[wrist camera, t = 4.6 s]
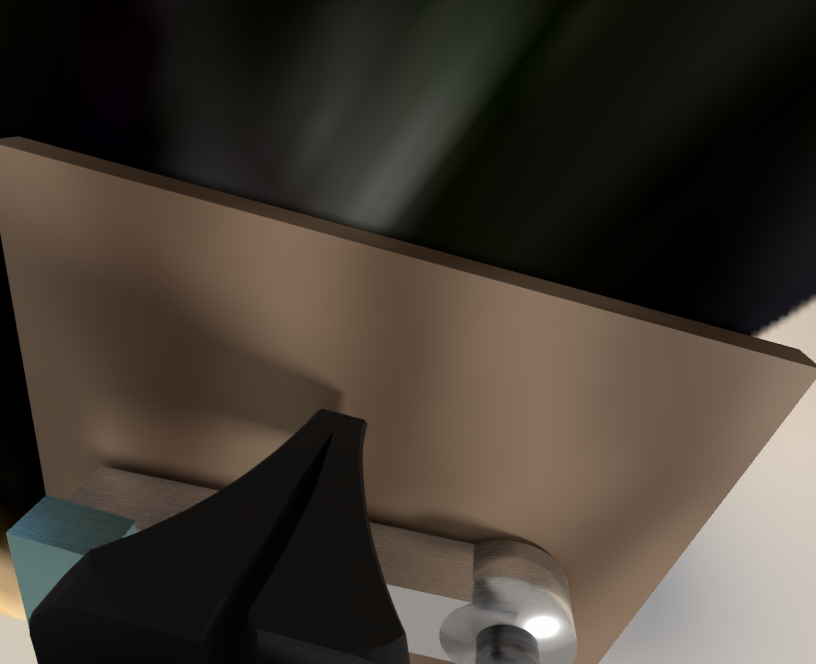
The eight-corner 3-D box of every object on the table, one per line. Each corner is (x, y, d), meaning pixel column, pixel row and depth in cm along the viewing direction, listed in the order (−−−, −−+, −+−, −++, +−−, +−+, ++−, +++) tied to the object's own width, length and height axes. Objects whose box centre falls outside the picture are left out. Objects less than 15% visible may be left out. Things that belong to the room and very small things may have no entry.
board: (77, 550, 21) (59, 571, 20) (18, 136, 13) (-16, 140, 12) (554, 689, 21) (557, 716, 20) (799, 349, 12) (822, 369, 12)
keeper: (140, 584, 20) (50, 714, 16) (131, 414, 16) (5, 532, 11) (197, 601, 20) (122, 736, 16) (204, 435, 15) (103, 561, 11)
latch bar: (583, 555, 15) (603, 655, 13) (549, 631, 17) (560, 732, 14) (97, 454, 16) (22, 526, 14) (116, 536, 18) (52, 613, 16)
